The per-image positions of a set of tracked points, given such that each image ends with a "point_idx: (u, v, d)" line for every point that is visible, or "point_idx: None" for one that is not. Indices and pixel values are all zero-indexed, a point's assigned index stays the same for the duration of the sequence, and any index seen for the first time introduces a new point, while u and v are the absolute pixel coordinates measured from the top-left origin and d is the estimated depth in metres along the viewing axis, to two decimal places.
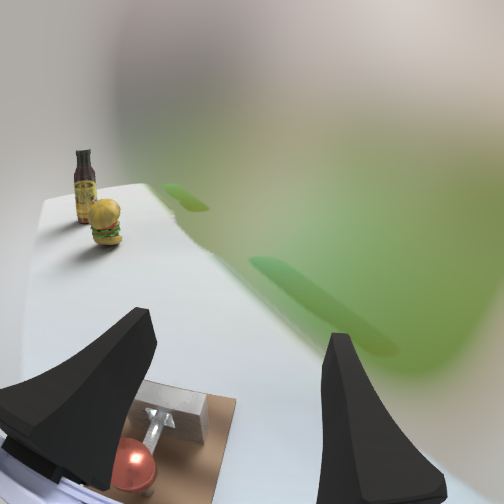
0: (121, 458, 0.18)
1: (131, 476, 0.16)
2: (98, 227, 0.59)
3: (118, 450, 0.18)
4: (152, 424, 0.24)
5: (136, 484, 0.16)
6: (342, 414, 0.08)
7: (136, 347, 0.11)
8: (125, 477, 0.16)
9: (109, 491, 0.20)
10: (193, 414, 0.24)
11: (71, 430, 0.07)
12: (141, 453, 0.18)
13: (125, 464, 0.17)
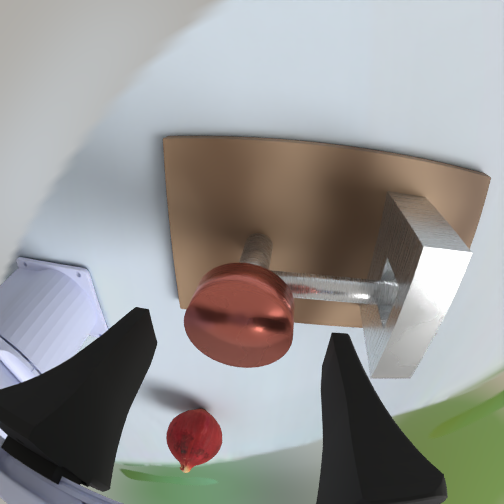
0: (240, 328, 0.12)
1: (212, 345, 0.13)
2: None
3: (255, 321, 0.12)
4: (366, 293, 0.14)
5: (202, 351, 0.13)
6: (342, 414, 0.08)
7: (136, 347, 0.11)
8: (205, 338, 0.13)
9: (232, 188, 0.17)
10: (373, 369, 0.14)
11: (71, 430, 0.07)
12: (264, 353, 0.13)
13: (231, 336, 0.12)
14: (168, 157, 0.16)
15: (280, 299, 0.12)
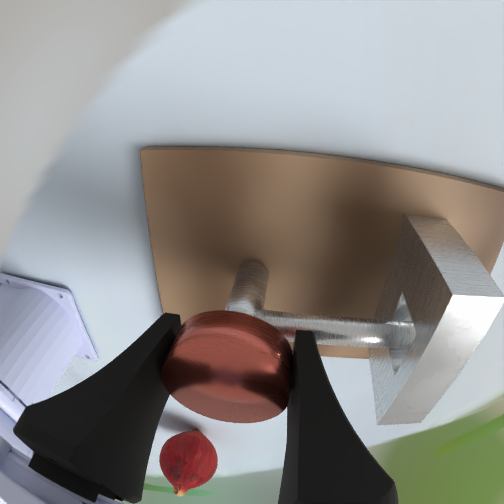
0: (227, 388, 0.10)
1: (195, 401, 0.10)
2: None
3: (244, 383, 0.09)
4: (377, 338, 0.12)
5: (185, 405, 0.11)
6: (297, 412, 0.08)
7: None
8: (187, 394, 0.10)
9: (221, 208, 0.14)
10: (380, 416, 0.12)
11: (109, 446, 0.06)
12: (256, 412, 0.10)
13: (217, 395, 0.10)
14: (147, 172, 0.14)
15: (274, 358, 0.09)
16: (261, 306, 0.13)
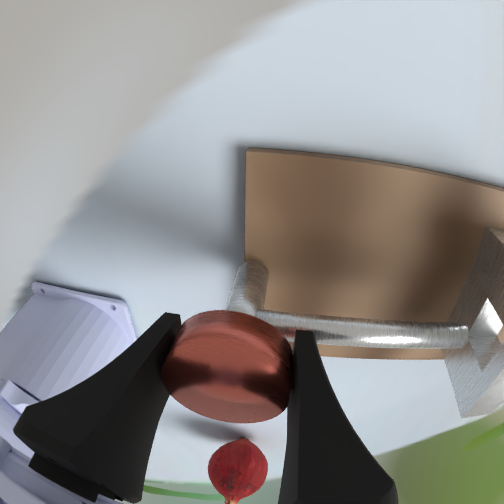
0: (227, 389, 0.10)
1: (195, 401, 0.10)
2: None
3: (244, 383, 0.09)
4: (377, 338, 0.12)
5: (185, 405, 0.11)
6: (297, 412, 0.08)
7: None
8: (187, 394, 0.10)
9: (331, 218, 0.14)
10: (466, 410, 0.11)
11: (109, 446, 0.06)
12: (256, 412, 0.10)
13: (217, 395, 0.10)
14: (252, 175, 0.13)
15: (274, 358, 0.09)
16: (261, 306, 0.13)
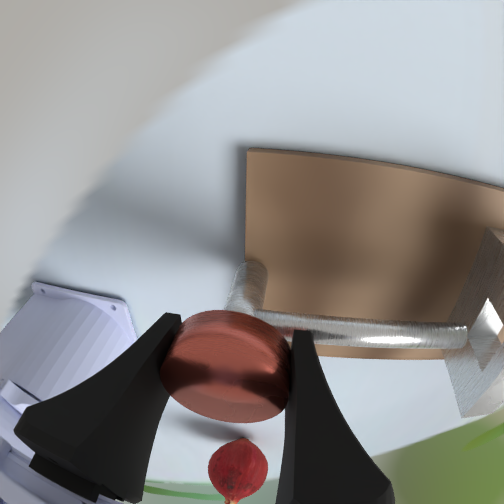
0: (225, 388, 0.10)
1: (194, 401, 0.10)
2: None
3: (243, 383, 0.09)
4: (376, 338, 0.12)
5: (184, 405, 0.11)
6: (294, 411, 0.08)
7: None
8: (186, 394, 0.10)
9: (332, 218, 0.14)
10: (466, 410, 0.11)
11: (110, 446, 0.06)
12: (255, 412, 0.10)
13: (216, 395, 0.10)
14: (252, 175, 0.13)
15: (273, 358, 0.09)
16: (260, 306, 0.13)
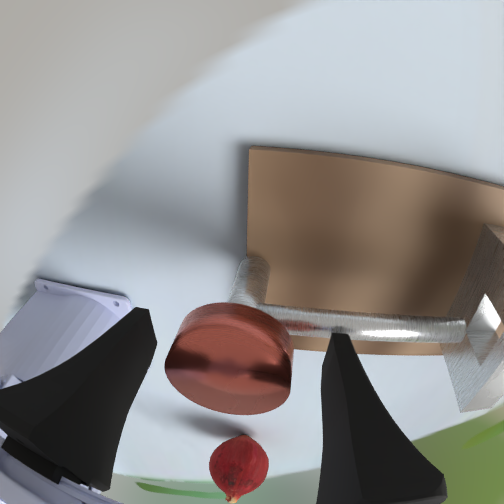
0: (229, 379, 0.10)
1: (198, 393, 0.11)
2: None
3: (246, 374, 0.10)
4: (376, 331, 0.12)
5: (187, 397, 0.11)
6: (342, 414, 0.08)
7: (136, 347, 0.11)
8: (190, 386, 0.10)
9: (332, 214, 0.14)
10: (464, 404, 0.12)
11: (71, 430, 0.07)
12: (257, 403, 0.10)
13: (219, 386, 0.10)
14: (254, 173, 0.14)
15: (276, 349, 0.09)
16: (262, 300, 0.13)
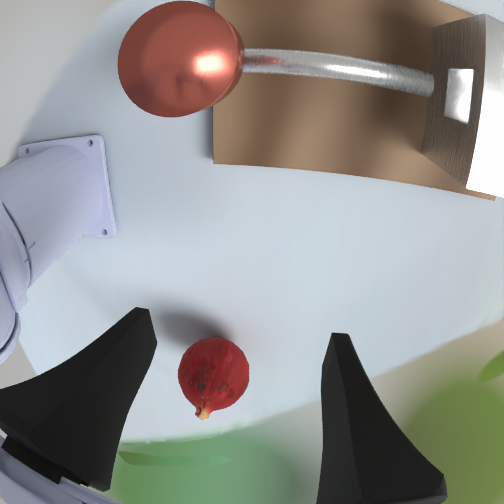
0: (176, 49, 0.09)
1: (144, 86, 0.09)
2: None
3: (192, 34, 0.08)
4: (332, 59, 0.11)
5: (134, 102, 0.10)
6: (342, 414, 0.08)
7: (136, 347, 0.11)
8: (138, 76, 0.09)
9: (286, 12, 0.13)
10: (468, 174, 0.11)
11: (71, 430, 0.07)
12: (204, 83, 0.09)
13: (166, 63, 0.09)
14: None
15: None
16: None
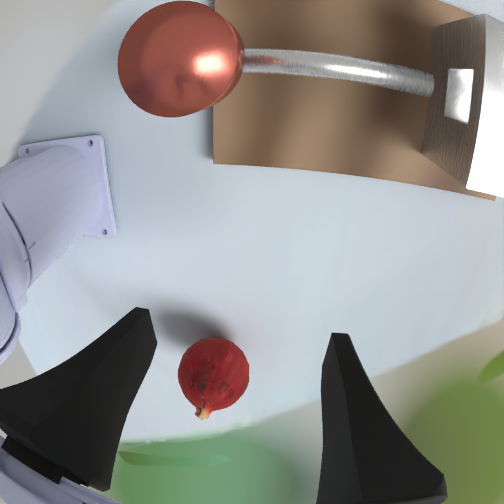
0: (176, 49, 0.09)
1: (144, 86, 0.09)
2: None
3: (192, 34, 0.08)
4: (332, 59, 0.11)
5: (134, 102, 0.10)
6: (342, 414, 0.08)
7: (136, 347, 0.11)
8: (138, 76, 0.09)
9: (286, 12, 0.13)
10: (468, 174, 0.11)
11: (71, 430, 0.07)
12: (204, 83, 0.09)
13: (166, 63, 0.09)
14: None
15: None
16: None
